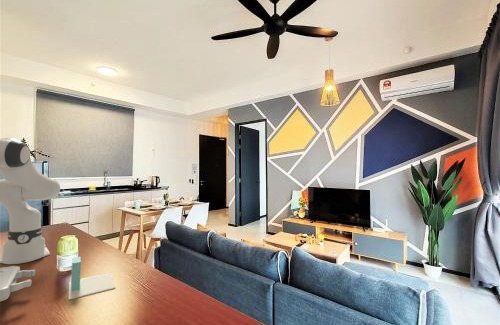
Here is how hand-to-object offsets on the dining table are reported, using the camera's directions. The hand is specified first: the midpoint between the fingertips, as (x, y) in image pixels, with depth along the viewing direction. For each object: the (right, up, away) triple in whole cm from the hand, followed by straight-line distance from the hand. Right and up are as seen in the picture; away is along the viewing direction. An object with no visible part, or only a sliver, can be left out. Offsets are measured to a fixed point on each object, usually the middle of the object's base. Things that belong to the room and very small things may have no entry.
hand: (33, 277), depth 82 cm
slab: (+9, -7, +7) cm, 14 cm away
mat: (+14, -7, +9) cm, 18 cm away
